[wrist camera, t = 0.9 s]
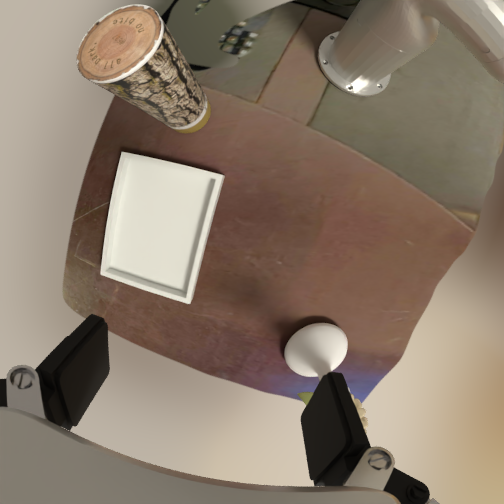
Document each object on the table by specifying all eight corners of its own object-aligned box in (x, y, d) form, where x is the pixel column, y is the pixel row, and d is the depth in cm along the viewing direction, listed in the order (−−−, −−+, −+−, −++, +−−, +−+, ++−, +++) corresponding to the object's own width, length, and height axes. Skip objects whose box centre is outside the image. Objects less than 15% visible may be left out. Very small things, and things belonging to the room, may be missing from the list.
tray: (128, 152, 38) (121, 151, 36) (224, 175, 39) (223, 175, 37) (107, 269, 43) (100, 274, 40) (192, 297, 44) (189, 304, 42)
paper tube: (187, 143, 38) (104, 99, 14) (159, 115, 37) (63, 56, 12) (221, 112, 37) (182, 28, 13) (191, 84, 35) (129, -7, 11)
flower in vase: (356, 339, 46) (414, 440, 22) (313, 378, 49) (342, 485, 24) (309, 300, 44) (358, 412, 20) (263, 345, 46) (271, 466, 22)
